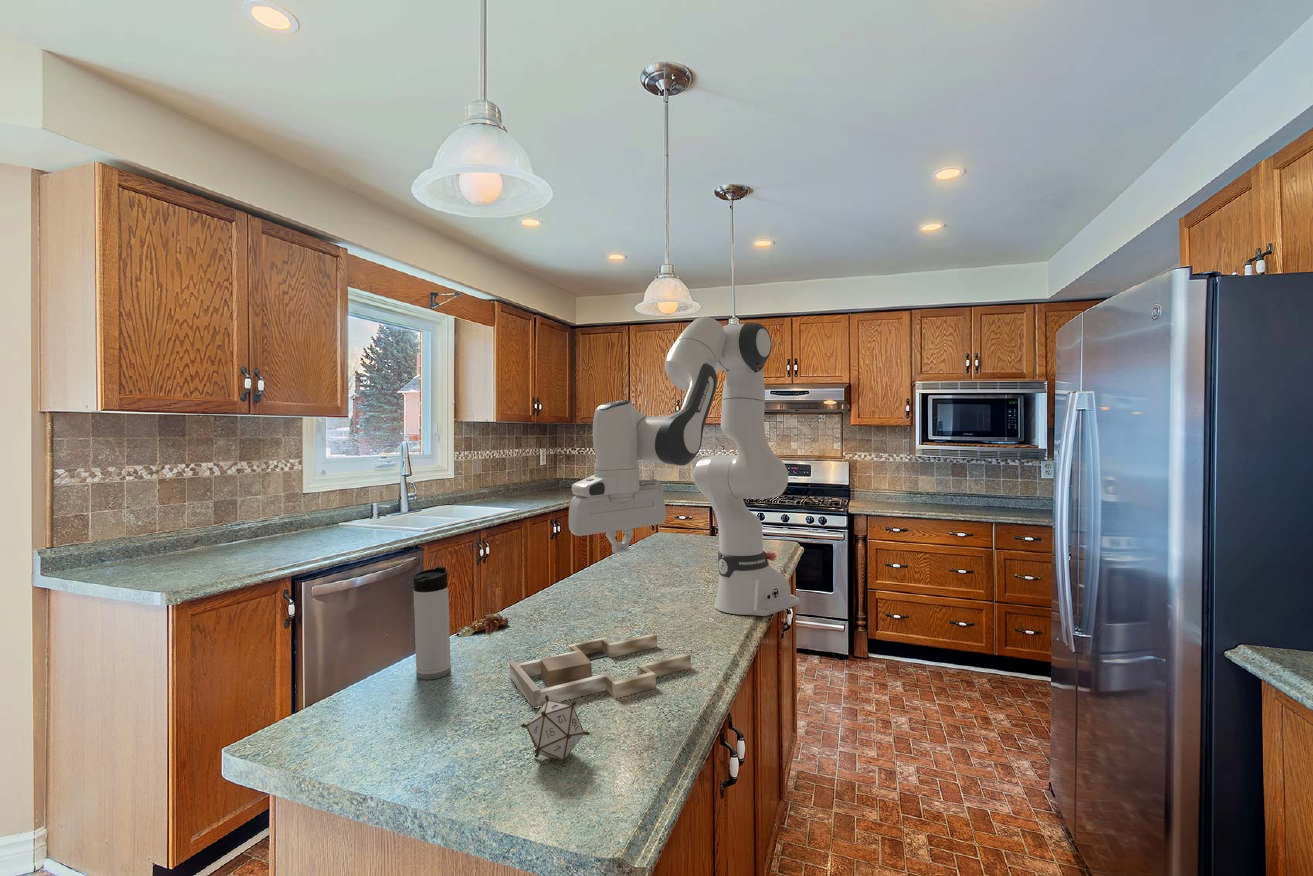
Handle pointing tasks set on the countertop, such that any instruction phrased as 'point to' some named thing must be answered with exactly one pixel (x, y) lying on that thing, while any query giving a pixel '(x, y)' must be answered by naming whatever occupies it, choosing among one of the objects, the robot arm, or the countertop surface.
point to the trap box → (600, 682)
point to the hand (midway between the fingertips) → (620, 551)
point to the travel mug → (432, 624)
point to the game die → (555, 729)
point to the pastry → (484, 625)
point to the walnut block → (565, 669)
